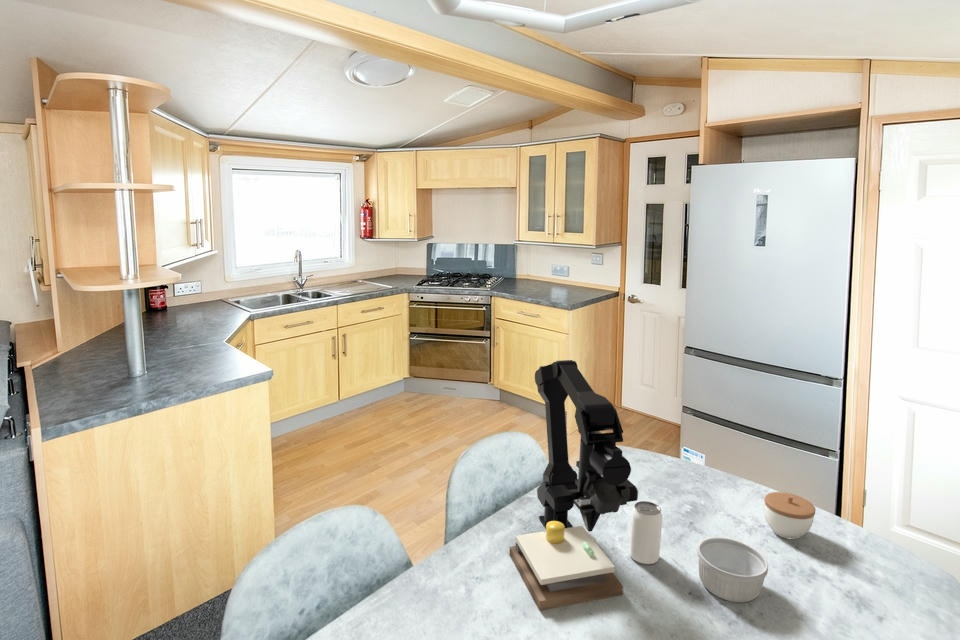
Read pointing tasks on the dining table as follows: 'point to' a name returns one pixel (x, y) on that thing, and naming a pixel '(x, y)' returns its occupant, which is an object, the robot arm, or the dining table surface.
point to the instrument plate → (563, 554)
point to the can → (645, 533)
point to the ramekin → (731, 569)
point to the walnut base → (563, 594)
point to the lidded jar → (788, 514)
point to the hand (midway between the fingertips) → (589, 530)
